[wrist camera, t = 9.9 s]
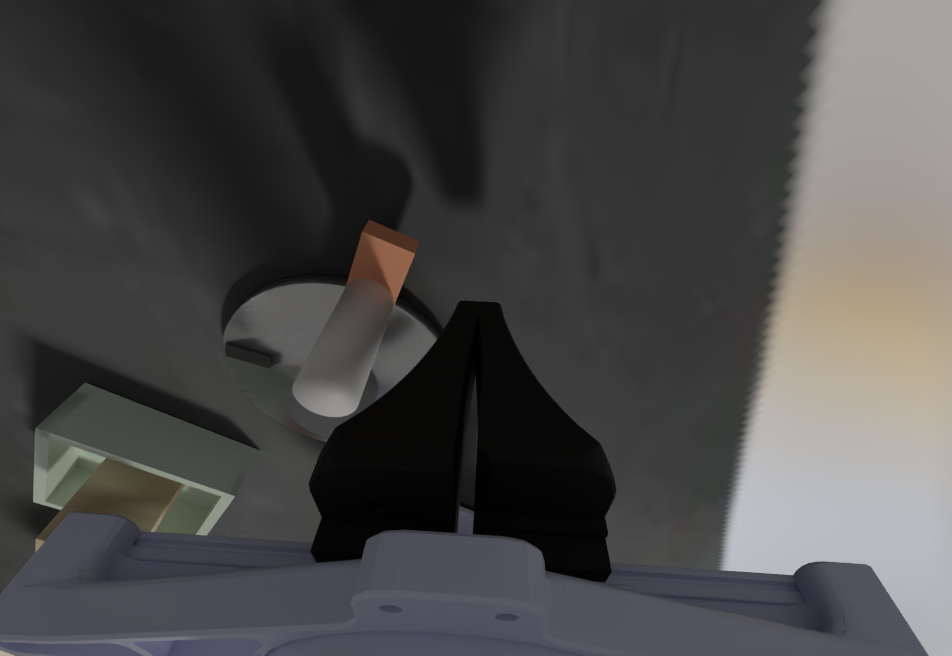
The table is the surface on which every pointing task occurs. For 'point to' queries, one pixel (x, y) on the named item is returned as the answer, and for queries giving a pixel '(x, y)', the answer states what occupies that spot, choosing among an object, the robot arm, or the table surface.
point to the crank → (352, 334)
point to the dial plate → (309, 341)
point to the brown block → (121, 497)
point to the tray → (138, 456)
